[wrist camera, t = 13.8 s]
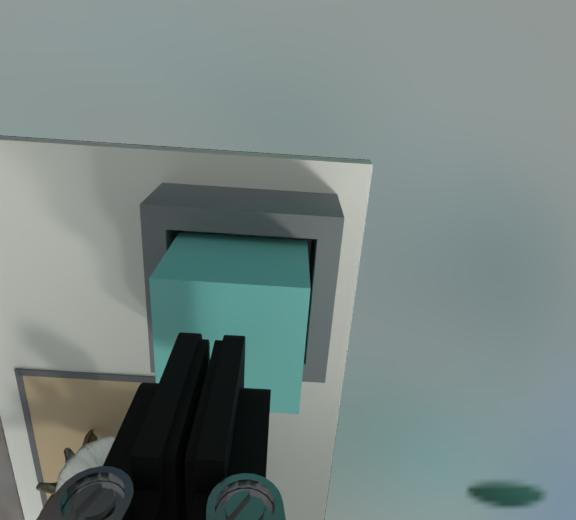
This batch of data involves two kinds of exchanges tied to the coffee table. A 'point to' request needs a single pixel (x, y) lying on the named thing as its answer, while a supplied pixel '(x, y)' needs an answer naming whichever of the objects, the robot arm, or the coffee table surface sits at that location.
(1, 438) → the coffee table surface
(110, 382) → the board
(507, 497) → the coffee table surface
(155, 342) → the button
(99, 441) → the eagle figurine
